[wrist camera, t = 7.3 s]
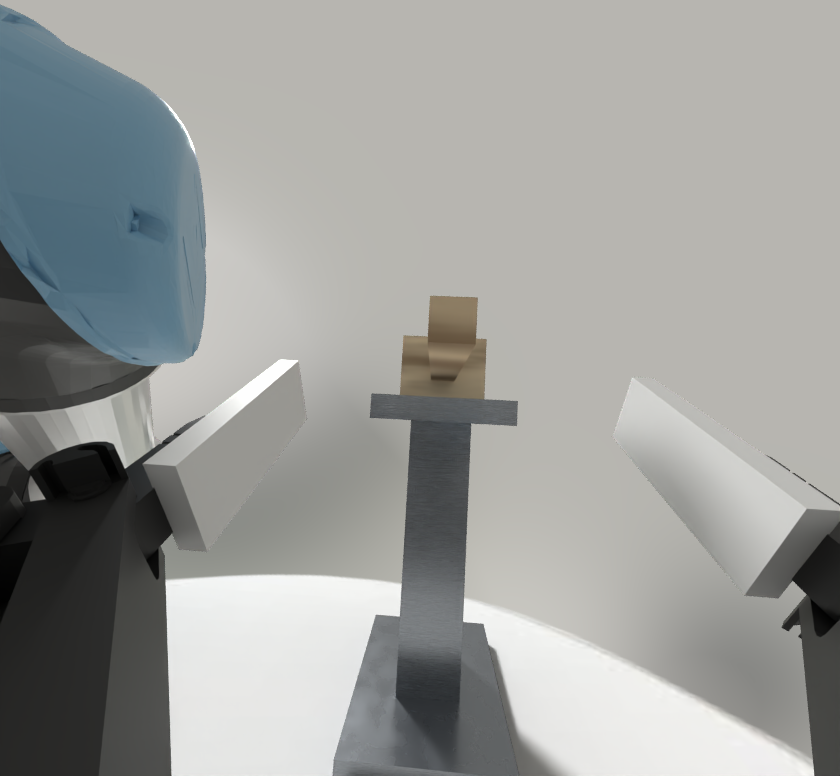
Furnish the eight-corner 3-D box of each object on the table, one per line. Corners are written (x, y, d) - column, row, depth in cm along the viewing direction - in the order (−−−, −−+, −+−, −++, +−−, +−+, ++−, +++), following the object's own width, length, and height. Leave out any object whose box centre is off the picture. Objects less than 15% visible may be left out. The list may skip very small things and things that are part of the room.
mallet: (538, 390, 16) (541, 258, 17) (363, 381, 17) (372, 253, 17) (472, 406, 44) (474, 356, 45) (407, 403, 45) (410, 353, 45)
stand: (519, 809, 24) (530, 401, 26) (331, 788, 24) (359, 392, 27) (482, 640, 42) (491, 407, 44) (375, 630, 42) (389, 402, 45)
